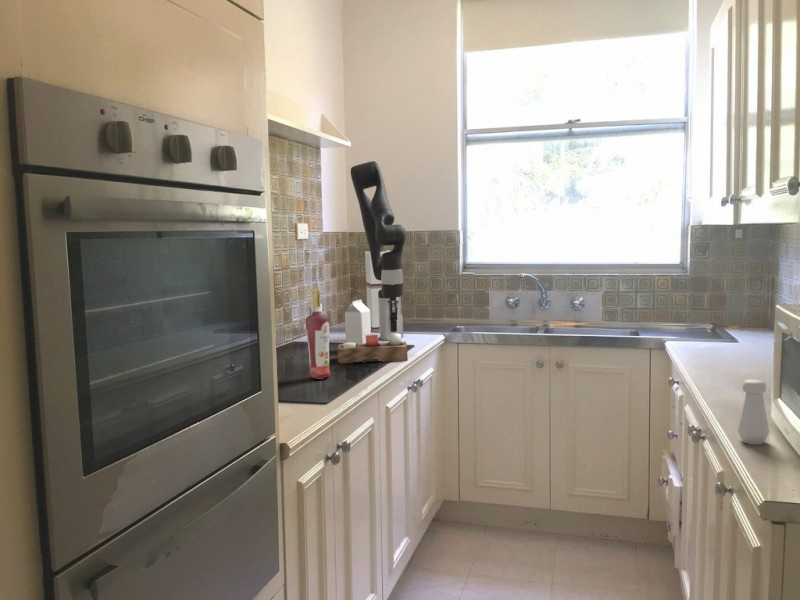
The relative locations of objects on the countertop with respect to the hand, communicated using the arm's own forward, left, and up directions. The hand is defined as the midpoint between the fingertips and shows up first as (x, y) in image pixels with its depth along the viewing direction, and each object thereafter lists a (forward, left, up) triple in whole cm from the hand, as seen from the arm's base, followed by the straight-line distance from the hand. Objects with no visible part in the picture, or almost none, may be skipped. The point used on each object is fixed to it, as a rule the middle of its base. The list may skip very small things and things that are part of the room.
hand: (393, 331), depth 240 cm
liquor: (+36, -3, -10) cm, 37 cm away
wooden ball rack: (+5, -6, -10) cm, 12 cm away
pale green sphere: (+10, -13, -7) cm, 17 cm away
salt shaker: (+38, +119, -10) cm, 125 cm away
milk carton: (-6, -21, -10) cm, 24 cm away
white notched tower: (-50, -43, -10) cm, 67 cm away
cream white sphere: (0, 0, -5) cm, 5 cm away
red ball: (+5, -6, -5) cm, 9 cm away
